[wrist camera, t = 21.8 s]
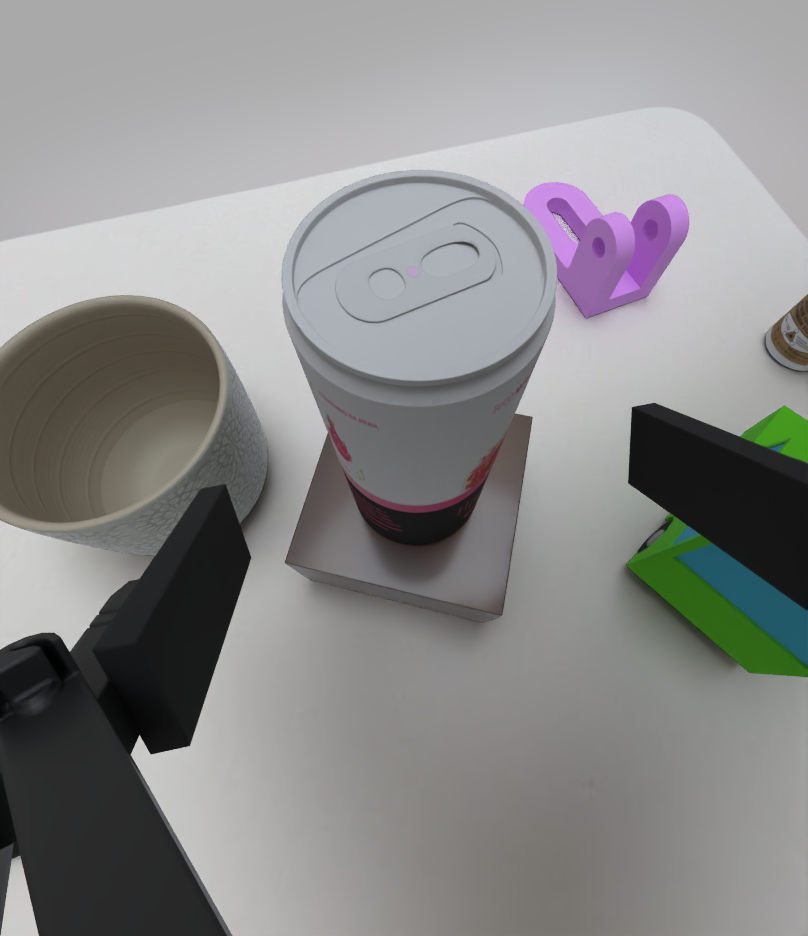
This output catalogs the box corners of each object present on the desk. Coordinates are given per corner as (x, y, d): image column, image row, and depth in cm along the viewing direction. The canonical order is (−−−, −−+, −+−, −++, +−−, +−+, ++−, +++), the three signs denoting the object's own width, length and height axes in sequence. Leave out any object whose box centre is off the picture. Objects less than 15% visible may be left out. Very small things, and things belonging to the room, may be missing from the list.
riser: (511, 458, 31) (532, 416, 26) (484, 623, 27) (502, 616, 22) (357, 426, 32) (345, 379, 27) (309, 579, 28) (284, 562, 23)
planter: (77, 464, 32) (-81, 378, 22) (233, 372, 34) (157, 256, 24) (152, 614, 28) (2, 594, 18) (322, 498, 30) (277, 423, 20)
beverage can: (500, 514, 24) (625, 316, 10) (385, 568, 23) (338, 438, 9) (443, 413, 26) (477, 135, 12) (335, 459, 25) (236, 216, 11)
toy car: (863, 526, 29) (1075, 468, 20) (751, 686, 26) (942, 707, 16) (720, 424, 32) (847, 331, 22) (604, 556, 29) (695, 512, 19)
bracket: (647, 296, 36) (698, 218, 30) (586, 318, 35) (624, 244, 29) (565, 190, 41) (594, 103, 34) (509, 208, 40) (528, 122, 33)
